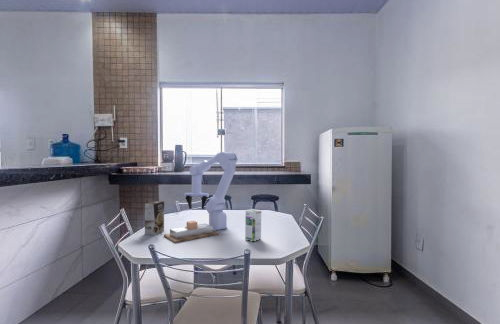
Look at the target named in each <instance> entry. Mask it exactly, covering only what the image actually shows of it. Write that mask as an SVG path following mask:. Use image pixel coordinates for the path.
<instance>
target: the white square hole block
mask: <svg viewBox="0 0 500 324" xmlns="http://www.w3.org/2000/svg"><path fill="white" fill-rule="evenodd" d="M210 232H213V226H211V225H209V223H208V224H207V223H199V224H197V228H196V229H190V230H189V229H187V226H181V227H175V228H170V229H169V233H170V235H171V236H172V237H174V238H176V239H177V238H182V237H188V236H193V235H199V234H204V233H210Z"/></svg>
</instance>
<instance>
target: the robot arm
mask: <svg viewBox="0 0 500 324" xmlns="http://www.w3.org/2000/svg"><path fill="white" fill-rule="evenodd" d="M237 161H238V157H237V153H236V152H234V151H230V152H229V151H226V152H225V151H220V152H218V153H216V155H214V156H213V157H212V158H209V159H208V160H206V159H204V160H201V162H199V163H196V165H191V166H190V168H189V174H190V176H191V192H184V195H183V197H185V200H186V203H187V204H188V208H189V210H191V209H192V205H193V204H192V200H193V197H201V209H202V210H203V209H206V211H207V214H208V225H211V226H213V230H214V231H219V230H224V229H227V228H228V227H227V221H228V218H227V214H226V212H225V211H224V210H225V208H226V202H227V201H226V199H225V196H226V195H227V192H228V190H229V188H230V185H231V182H232V180H233V177H234V175H235V173H236V164H237ZM217 163H218V164H219V165H220V166H221V169H222V170H224V171H223V173H222V176H221V179H220V181H219V183H218V186H217V188H216V191H215V192H214V195H213V196H211V197H210V193H209V192H202V191H203V190H202V178H203V174H204V173H205V172H207V171H208V170H210V169H211V167H212V166H215V165H216V164H217ZM209 197H210V198H209ZM208 198H209V200H208V201H207V199H208ZM205 204H206V205H205Z"/></svg>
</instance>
